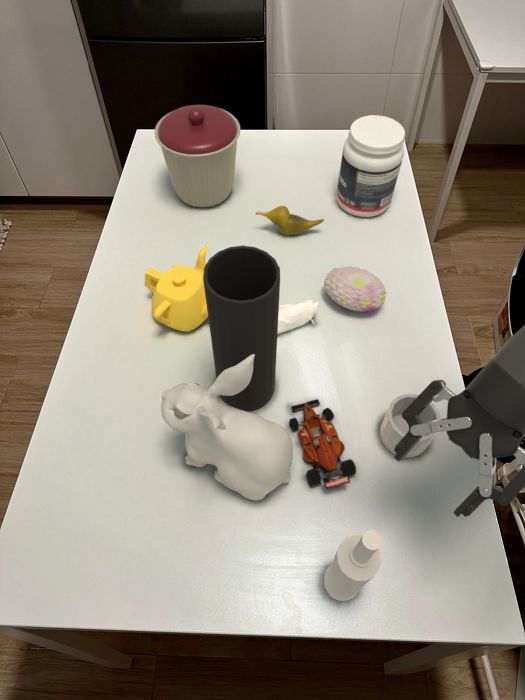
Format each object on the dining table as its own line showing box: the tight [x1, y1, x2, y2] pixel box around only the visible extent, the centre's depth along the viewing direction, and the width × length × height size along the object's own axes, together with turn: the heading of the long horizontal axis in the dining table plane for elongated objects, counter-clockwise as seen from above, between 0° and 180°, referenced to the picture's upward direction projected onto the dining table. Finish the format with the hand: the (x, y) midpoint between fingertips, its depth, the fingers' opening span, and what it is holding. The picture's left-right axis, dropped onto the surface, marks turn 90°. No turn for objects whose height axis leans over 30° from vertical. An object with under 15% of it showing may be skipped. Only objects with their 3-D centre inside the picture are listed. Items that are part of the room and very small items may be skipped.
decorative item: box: [323, 265, 387, 313], centre depth 101 cm, size 9×11×10 cm
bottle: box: [323, 529, 383, 602], centre depth 64 cm, size 5×5×25 cm
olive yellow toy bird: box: [255, 205, 325, 236], centre depth 112 cm, size 4×15×6 cm, turn 86°
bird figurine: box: [277, 298, 320, 335], centre depth 98 cm, size 5×7×10 cm
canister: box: [154, 104, 241, 208], centre depth 114 cm, size 18×18×21 cm
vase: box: [203, 245, 281, 412], centre depth 80 cm, size 10×10×30 cm
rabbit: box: [160, 354, 294, 501], centre depth 75 cm, size 12×21×25 cm, turn 67°
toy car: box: [288, 398, 357, 490], centre depth 85 cm, size 8×16×4 cm, turn 15°
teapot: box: [144, 245, 209, 332], centre depth 98 cm, size 14×13×10 cm
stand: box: [379, 393, 441, 458], centre depth 85 cm, size 8×8×7 cm
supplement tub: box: [335, 114, 406, 218], centre depth 113 cm, size 13×13×18 cm
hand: (426, 485), depth 59 cm, fingers open, 8 cm apart
